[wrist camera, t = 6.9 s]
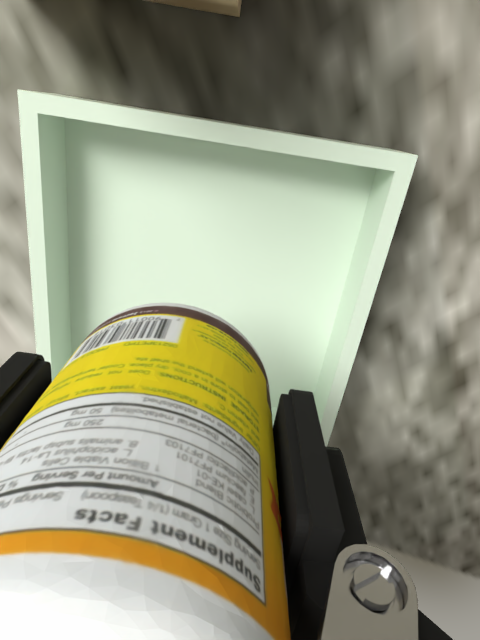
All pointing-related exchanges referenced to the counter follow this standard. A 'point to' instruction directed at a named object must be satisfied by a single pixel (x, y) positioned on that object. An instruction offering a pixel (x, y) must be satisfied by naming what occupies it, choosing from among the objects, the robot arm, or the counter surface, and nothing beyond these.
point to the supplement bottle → (146, 490)
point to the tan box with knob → (207, 5)
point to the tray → (208, 232)
